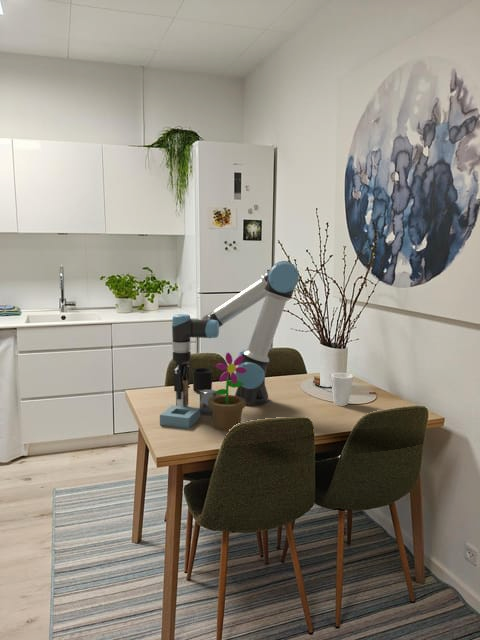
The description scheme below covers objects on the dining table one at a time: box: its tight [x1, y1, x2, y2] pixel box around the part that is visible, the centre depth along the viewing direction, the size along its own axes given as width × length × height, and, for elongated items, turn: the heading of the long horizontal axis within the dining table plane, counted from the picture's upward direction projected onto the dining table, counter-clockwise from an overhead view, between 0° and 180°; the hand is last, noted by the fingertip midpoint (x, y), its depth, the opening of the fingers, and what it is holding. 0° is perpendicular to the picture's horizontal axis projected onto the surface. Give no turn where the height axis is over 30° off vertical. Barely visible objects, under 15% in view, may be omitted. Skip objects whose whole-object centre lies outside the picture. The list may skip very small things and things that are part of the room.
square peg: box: [175, 380, 189, 407], centre depth 217 cm, size 4×4×11 cm
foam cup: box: [330, 372, 354, 407], centre depth 225 cm, size 10×9×13 cm
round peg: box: [199, 389, 217, 417], centre depth 211 cm, size 7×7×9 cm
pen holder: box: [192, 367, 213, 394], centre depth 242 cm, size 9×9×10 cm
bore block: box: [159, 405, 201, 429], centre depth 201 cm, size 12×12×4 cm
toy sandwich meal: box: [312, 375, 321, 385], centre depth 257 cm, size 12×14×5 cm
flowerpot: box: [209, 352, 247, 432], centre depth 195 cm, size 14×14×30 cm
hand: (182, 404), depth 218 cm, fingers closed on square peg, 4 cm apart
